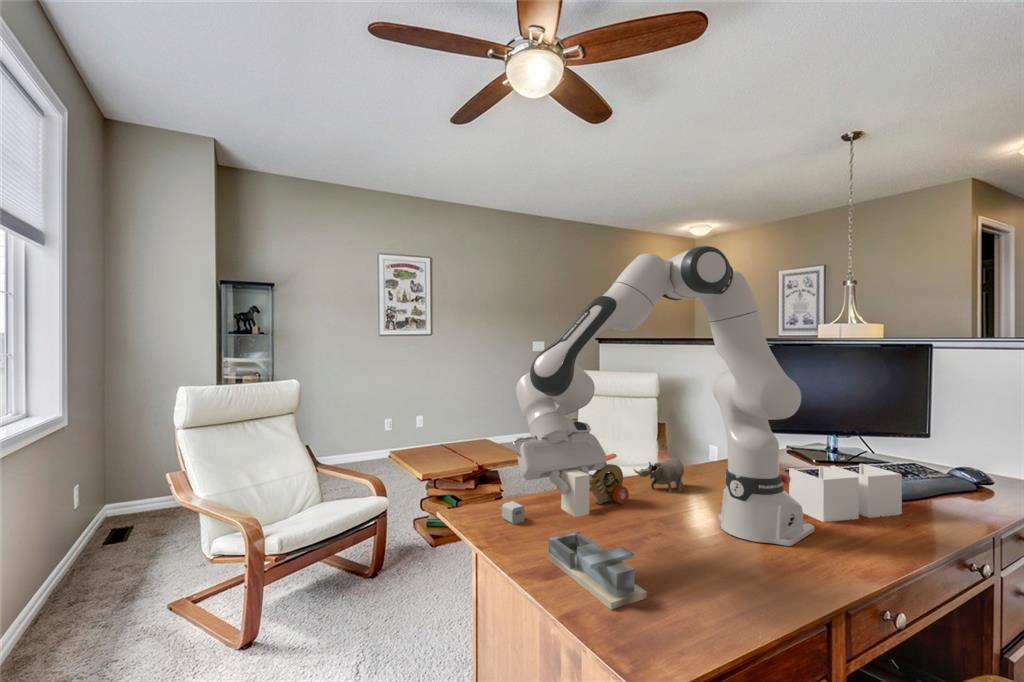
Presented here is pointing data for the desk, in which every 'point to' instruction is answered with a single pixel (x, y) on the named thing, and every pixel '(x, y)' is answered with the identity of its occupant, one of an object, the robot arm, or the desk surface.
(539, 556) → the desk surface
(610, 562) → the jig
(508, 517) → the usb wall charger
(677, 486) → the rhinoceros figurine
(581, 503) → the cream upright slab block
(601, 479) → the toy helicopter
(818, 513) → the storage container
